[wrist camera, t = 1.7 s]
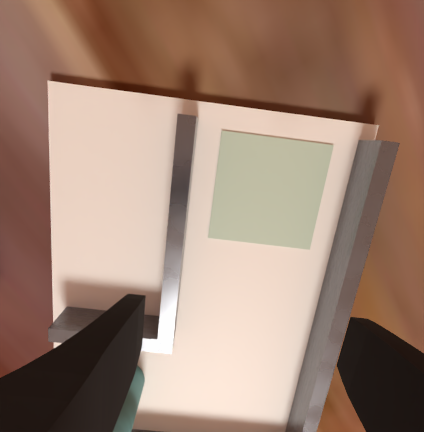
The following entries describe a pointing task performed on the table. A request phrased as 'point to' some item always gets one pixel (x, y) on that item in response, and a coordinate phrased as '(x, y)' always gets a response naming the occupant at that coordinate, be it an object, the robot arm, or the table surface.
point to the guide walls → (331, 288)
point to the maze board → (200, 242)
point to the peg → (131, 403)
